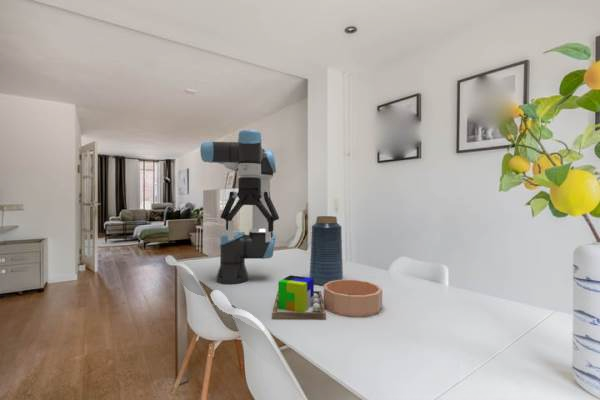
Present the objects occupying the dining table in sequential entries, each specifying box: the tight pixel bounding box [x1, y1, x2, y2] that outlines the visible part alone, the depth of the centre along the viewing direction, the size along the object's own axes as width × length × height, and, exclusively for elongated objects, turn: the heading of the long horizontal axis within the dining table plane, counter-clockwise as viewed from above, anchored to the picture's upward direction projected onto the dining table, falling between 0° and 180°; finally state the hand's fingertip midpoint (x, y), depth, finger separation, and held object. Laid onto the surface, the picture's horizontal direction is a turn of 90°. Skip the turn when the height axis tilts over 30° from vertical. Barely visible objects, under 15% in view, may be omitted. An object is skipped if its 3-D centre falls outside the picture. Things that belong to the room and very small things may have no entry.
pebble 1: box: [312, 298, 320, 304], centre depth 112 cm, size 3×3×3 cm
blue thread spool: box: [309, 215, 344, 286], centre depth 146 cm, size 16×16×32 cm
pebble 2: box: [311, 303, 321, 312], centre depth 107 cm, size 3×3×3 cm
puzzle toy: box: [277, 274, 315, 312], centre depth 112 cm, size 10×10×10 cm
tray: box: [271, 290, 327, 320], centre depth 112 cm, size 24×18×2 cm
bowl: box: [323, 279, 383, 318], centre depth 113 cm, size 21×21×7 cm
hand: (249, 240), depth 100 cm, fingers open, 13 cm apart
